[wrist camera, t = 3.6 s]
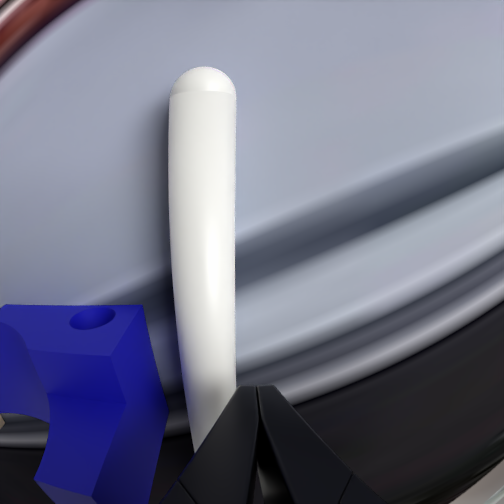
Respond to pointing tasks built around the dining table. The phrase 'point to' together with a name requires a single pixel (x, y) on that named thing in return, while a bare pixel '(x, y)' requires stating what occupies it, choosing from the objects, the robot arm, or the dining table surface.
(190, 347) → the white peg
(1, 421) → the frame
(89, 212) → the dining table surface
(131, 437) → the cable clip
